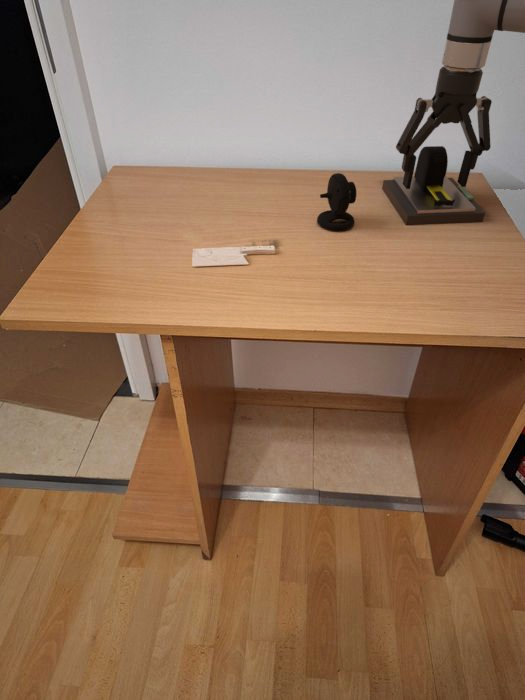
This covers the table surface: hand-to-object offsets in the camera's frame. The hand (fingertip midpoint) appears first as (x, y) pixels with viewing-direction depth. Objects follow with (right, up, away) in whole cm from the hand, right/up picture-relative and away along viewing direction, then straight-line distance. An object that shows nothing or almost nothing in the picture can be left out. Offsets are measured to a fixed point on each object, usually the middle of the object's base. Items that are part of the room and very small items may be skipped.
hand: (433, 185), depth 102 cm
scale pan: (0, -2, +1) cm, 2 cm away
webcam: (-21, -9, -4) cm, 23 cm away
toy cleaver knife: (-41, -18, -14) cm, 47 cm away
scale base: (0, -3, +3) cm, 4 cm away
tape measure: (0, -1, +1) cm, 2 cm away
